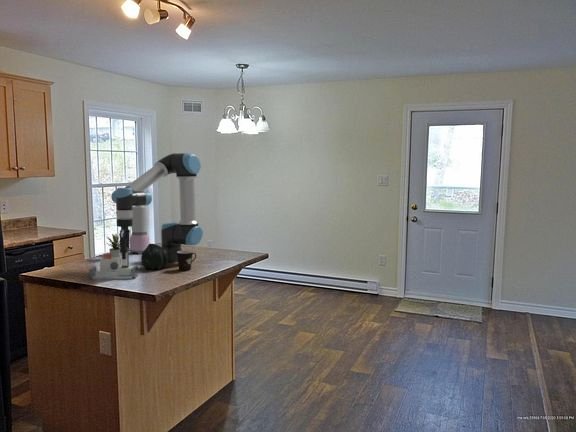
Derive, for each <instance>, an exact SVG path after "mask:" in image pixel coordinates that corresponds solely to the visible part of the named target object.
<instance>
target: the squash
mask: <svg viewBox="0 0 576 432" xmlns="http://www.w3.org/2000/svg"><path fill="white" fill-rule="evenodd" d="M140 260H141V265H142V267H144V268H145V269H146V270H154V271H155V270H161V269H162V268H165V267H166V266H167V265H168V263H169V262H168V260H169V255H168V253H167V251H166V250H165V249H163V248H162V246H160V245H158V244H155V243H149V245H148V246H147V248H146V249H145V250H144V252H142V254H141V257H140Z"/></svg>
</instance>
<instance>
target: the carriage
mask: <svg viewBox="0 0 576 432" xmlns="http://www.w3.org/2000/svg"><path fill="white" fill-rule="evenodd" d="M129 250H130V249H129V247H127V266H119V267H118V268H117V275H132V268H133V267H134V265H130V263H129V261H130V259H129V254H130V251H129Z"/></svg>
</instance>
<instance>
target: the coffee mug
mask: <svg viewBox="0 0 576 432" xmlns="http://www.w3.org/2000/svg"><path fill="white" fill-rule="evenodd" d="M193 255H194V258H193ZM177 257H178V262H177V263H178V265H177V266H178V271H179V272H189V271H191V269H192V263H193V262H194V261H195V260H196V258H197V254H196V253H195V252H193V251H192V250H182V251H178V252H177Z"/></svg>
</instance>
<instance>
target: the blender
mask: <svg viewBox="0 0 576 432" xmlns="http://www.w3.org/2000/svg"><path fill="white" fill-rule="evenodd" d="M132 210H133V217H132V218H131V219H132V220H133V225H132V226H131V227H130V228H131V235H130V249H129V250H130V251H129V254H131V255H133V253H137V254H138V255H142V253H143V252H144V250H145V249H146V248H147V246H148V245H149V244H150V237H149V234H148V227H149V207H148V205H145V206H133V207H132Z"/></svg>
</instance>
